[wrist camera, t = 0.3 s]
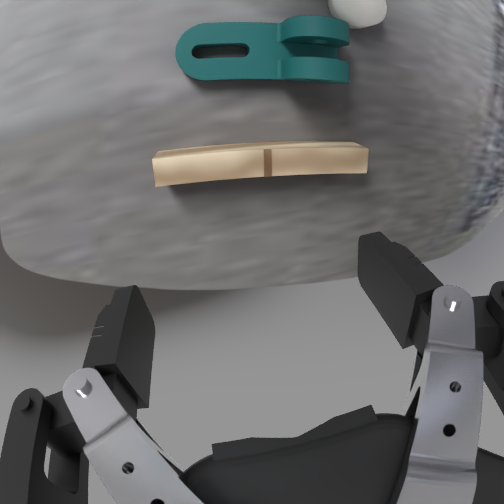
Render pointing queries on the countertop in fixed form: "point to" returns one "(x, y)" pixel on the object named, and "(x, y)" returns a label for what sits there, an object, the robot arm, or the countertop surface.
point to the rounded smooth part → (358, 12)
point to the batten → (258, 161)
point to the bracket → (269, 50)
